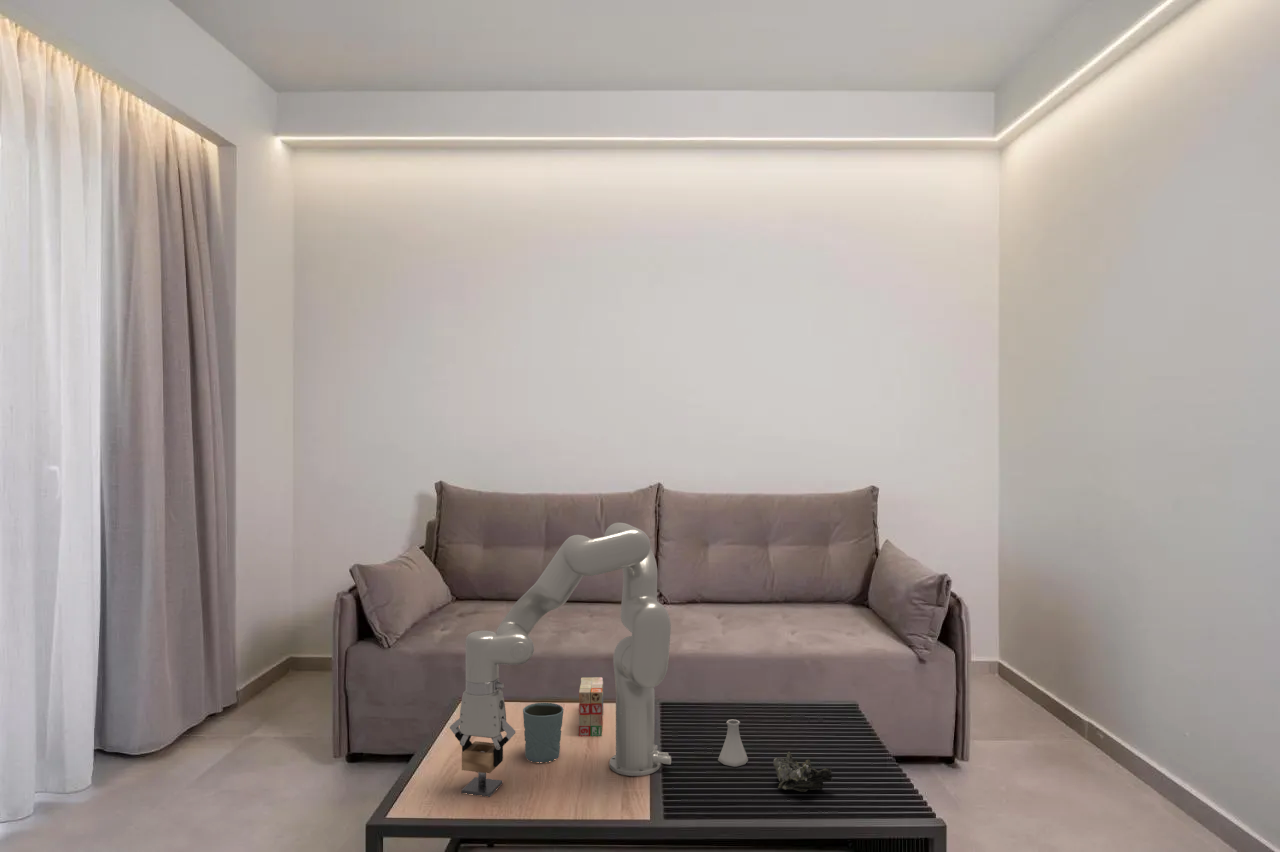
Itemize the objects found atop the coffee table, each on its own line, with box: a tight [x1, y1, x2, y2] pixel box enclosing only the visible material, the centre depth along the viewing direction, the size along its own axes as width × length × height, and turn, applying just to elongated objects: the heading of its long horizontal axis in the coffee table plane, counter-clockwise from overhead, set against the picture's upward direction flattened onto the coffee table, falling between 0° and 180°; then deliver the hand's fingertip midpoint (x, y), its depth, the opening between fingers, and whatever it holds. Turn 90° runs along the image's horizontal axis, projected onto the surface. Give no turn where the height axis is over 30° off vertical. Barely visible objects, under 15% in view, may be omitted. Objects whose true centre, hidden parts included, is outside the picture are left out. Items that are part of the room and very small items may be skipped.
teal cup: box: [522, 702, 564, 764], centre depth 213 cm, size 10×10×12 cm
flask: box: [717, 719, 749, 768], centre depth 210 cm, size 7×7×10 cm
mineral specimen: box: [772, 751, 834, 793], centre depth 196 cm, size 15×13×10 cm
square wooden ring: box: [461, 740, 503, 774], centre depth 194 cm, size 7×7×4 cm
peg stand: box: [461, 751, 503, 798], centre depth 194 cm, size 7×7×9 cm
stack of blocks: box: [578, 676, 604, 737], centre depth 236 cm, size 21×6×12 cm, turn 1°
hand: (482, 762), depth 194 cm, fingers closed on square wooden ring, 6 cm apart
